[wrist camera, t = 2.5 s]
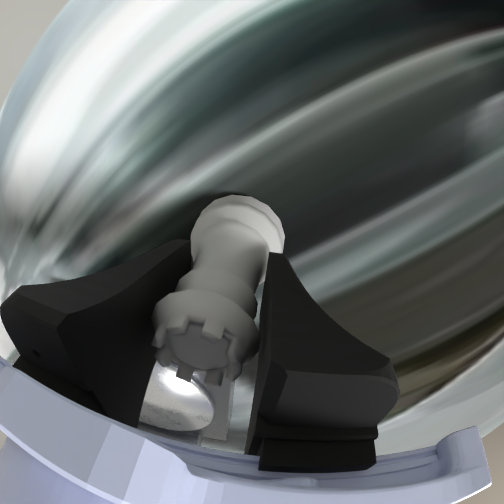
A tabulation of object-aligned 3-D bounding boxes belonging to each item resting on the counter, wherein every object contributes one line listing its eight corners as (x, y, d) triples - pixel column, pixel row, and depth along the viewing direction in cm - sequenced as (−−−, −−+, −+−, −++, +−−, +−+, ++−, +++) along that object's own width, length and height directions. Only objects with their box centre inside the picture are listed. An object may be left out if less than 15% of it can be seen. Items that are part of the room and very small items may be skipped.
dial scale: (229, 428, 24) (222, 468, 20) (118, 398, 25) (102, 432, 20) (241, 318, 16) (226, 385, 12) (71, 281, 17) (32, 322, 13)
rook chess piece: (281, 188, 12) (275, 291, 5) (287, 271, 14) (282, 406, 7) (189, 196, 13) (95, 290, 6) (206, 274, 15) (152, 394, 8)
